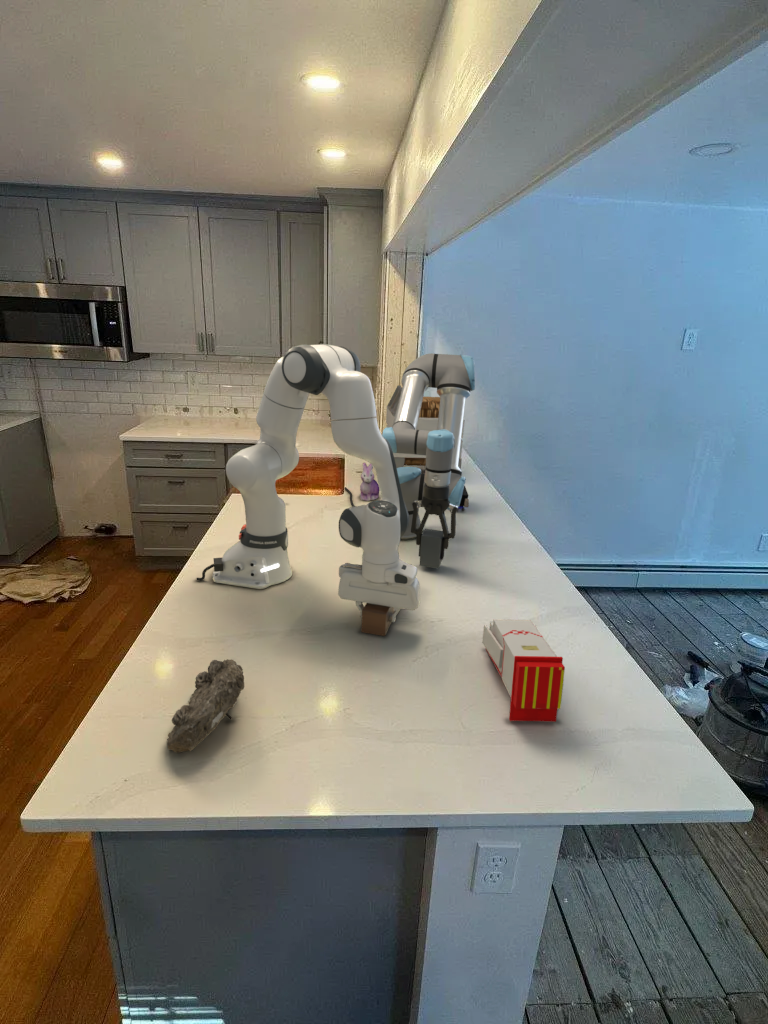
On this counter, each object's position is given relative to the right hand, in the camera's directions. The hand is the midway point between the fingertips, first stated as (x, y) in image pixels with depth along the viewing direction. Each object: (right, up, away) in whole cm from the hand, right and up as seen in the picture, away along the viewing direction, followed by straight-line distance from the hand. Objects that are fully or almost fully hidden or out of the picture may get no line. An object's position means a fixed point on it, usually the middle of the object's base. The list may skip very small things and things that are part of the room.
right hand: (431, 556), depth 174 cm
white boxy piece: (+3, +32, +101) cm, 107 cm away
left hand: (-16, -13, -33) cm, 39 cm away
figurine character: (+16, +16, +56) cm, 61 cm away
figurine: (-21, +19, +62) cm, 69 cm away
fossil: (-47, -26, -65) cm, 85 cm away
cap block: (0, -2, +1) cm, 2 cm away
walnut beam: (-13, -11, -22) cm, 28 cm away
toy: (+14, -23, -50) cm, 57 cm away
